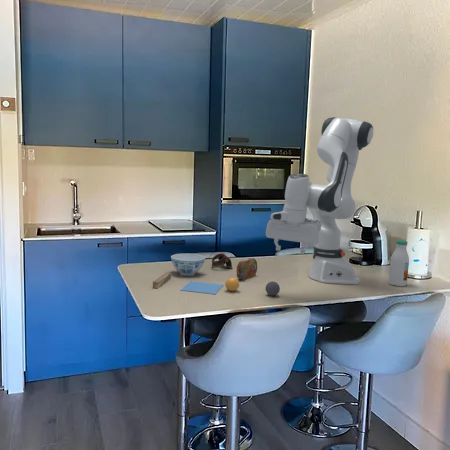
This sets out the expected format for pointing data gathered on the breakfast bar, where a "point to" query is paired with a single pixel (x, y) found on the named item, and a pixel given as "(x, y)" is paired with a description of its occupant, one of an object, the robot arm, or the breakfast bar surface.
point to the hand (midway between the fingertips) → (290, 252)
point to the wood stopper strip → (161, 280)
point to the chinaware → (187, 263)
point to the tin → (246, 269)
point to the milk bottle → (399, 265)
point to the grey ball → (272, 288)
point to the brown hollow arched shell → (221, 260)
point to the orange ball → (232, 284)
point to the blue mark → (202, 287)
